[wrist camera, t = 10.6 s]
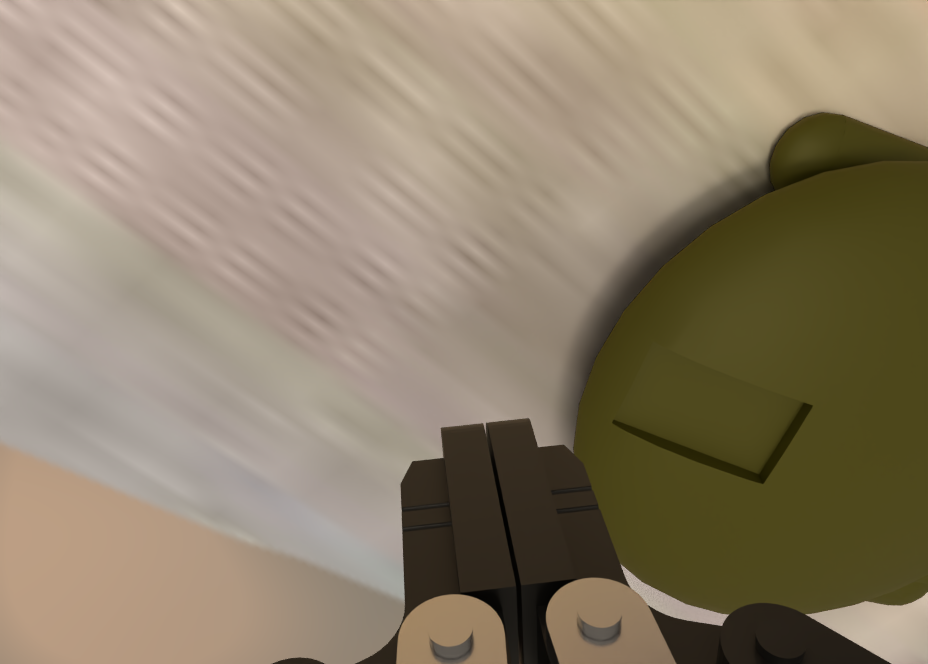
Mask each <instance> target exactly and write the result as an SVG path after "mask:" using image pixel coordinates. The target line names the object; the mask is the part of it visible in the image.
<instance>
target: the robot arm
mask: <svg viewBox="0 0 928 664" xmlns="http://www.w3.org/2000/svg"><path fill="white" fill-rule="evenodd" d="M441 437H442V448H443V458H440V459H431V460H422V461H413V462H412V463H411V465H410V467H409V469H408V471H407V473H406V475H405V477H404V478H403V480H402V482H401V506H402V529H403V532H402V534H403V561H404V589H405V613H404V617H403V621H402V623H401V625H400V627H399V629H398V631H397V632H396V634H395V636H394V637H393V638H392V639H391V640H390V641H389V643H388V644H387V645H386V646H384V647H383V648H382V649H381V650H380V651H378V652H377V653H375V654H374V655H373V656H370V657H368V658H367V659H365V660H363V661H360V662H358V663H356V664H891V663H889V662H887V661H886V660H884V659H882V658H880V657H879V656H877V655H875V654H873V653H872V652H870V651H868V650H866V649H865V648H863V647H861V646H859V645H858V644H856V643H854V642H852V641H851V640H849V639H847V638H845V637H844V636H842V635H840V634H838V633H837V632H835V631H833V630H831V629H830V628H828V627H826V626H824V625H823V624H821V623H819V622H817V621H816V620H814V619H812V618H810V617H809V616H807V615H805V614H803V613H801V612H799V611H797V610H795V609H792V608H789V607H786V606H783V605H778V604H772V603H754V604H748V605H745V606H743V607H740V608H738V609H736V610H735V611H733V612H732V613H731V614H730V615H729V616H728V617H727V618H726V620H725V621H724V623H723V625H722V626H718V625H712V624H705V623H699V622H693V621H686V620H682V619H677V618H674V617H671V616H668V615H665V614H663V613H661V612H659V611H656V610H655V609H653V608H651V607H650V606H648V605H647V603H646V602H645V601H644V600H643V598H642V597H641V596H640V595H639V594H638V593H636V592H635V591H634V590H633V589H631V588H630V586H629V585H628V583H627V580H626V578H625V576H624V573H623V570H622V568H621V565H620V562H619V559H618V557H617V554H616V551H615V548H614V546H613V543H612V540H611V538H610V535H609V532H608V529H607V527H606V524H605V521H604V518H603V516H602V513H601V510H600V509H599V507H598V502H597V499H596V497H595V494H594V491H593V490H592V486H591V483H590V480H589V478H588V475H587V472H586V469H585V467H584V464H583V462H581V461H580V460H579V459H578V458H577V457H576V456H575V455H574V454H573V453H572V452H571V451H570V450H569V449H568V448H567V447H566V446H564V445H557V446H548V447H538V446H537V442H536V439H535V435H534V432H533V429H532V425H531V422H530V420H529V418H526V419H517V420H508V421H498V422H489V423H486V434H485V429H484V425H483V423H481V424H472V425H463V426H454V427H444V428H441ZM273 664H324V663H322V662H320V661H317V660H313V659H309V658H290V659H285V660H281V661H278V662H275V663H273Z"/></svg>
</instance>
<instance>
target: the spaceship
mask: <svg viewBox="0 0 928 664" xmlns="http://www.w3.org/2000/svg"><path fill="white" fill-rule="evenodd" d="M770 181H771V183H772V185H773V187H774V188H775V190H776V191H773V192H771V193H768V194H765V195H764V196H762V197H760V198H759V199H757V200H755V201H753V202H752V203H750V204H748V205H747V206H745V207H743V208H741V209H740V210H738V211H736V212H735V213H733V214H731V215H730V216H728V217H726V218H724V219H723V220H721V221H719V222H718V223H716V224H714V225H712V226H711V227H710V228H708V229H707V230H706V231H705V232H703V233H702V234H701V235H700V236H699V237H697V238H696V239H695V240H694V241H693V242H691V243H690V244H689V245H688V246H687V247H685V248H684V249H683V250H682V251H680V252H679V253H678V254H677V255H676V256H674V257H673V258H672V259H671V260H670V261H668V262H667V263H666V264H665V265H664V266H662V268H661V269H660V270H659V271H658V272H657V273H656V275H655V276H654V277H653V278H652V279H651V280H650V281H649V283H648V284H647V285H646V286H645V287H644V288H643V290H642V291H641V292H640V293H639V294H638V295H637V296H636V298H635V299H634V300H633V301H632V302H631V303H630V304H629V306H628V307H627V308H626V309H625V310H624V312H623V313H622V315H621V317H620V318H619V320H618V322H617V323H616V325H615V327H614V328H613V330H612V332H611V333H610V335H609V337H608V338H607V340H606V342H605V343H604V345H603V347H602V348H601V350H600V352H599V353H598V355H597V357H596V359H595V362H594V365H593V367H592V370H591V373H590V376H589V378H588V381H587V384H586V387H585V389H584V392H583V395H582V398H581V401H580V403H579V410H578V417H577V425H576V432H575V439H574V447H573V450H574V455H575V456H576V457H577V458H578V459H579V460H580V461H581V462H583V464H584V467H585V469H586V472H587V475H588V478H589V480H590V483H591V486H592V490H593V491H594V494H595V497H596V499H597V502H598V507H599V509H600V510H601V513H602V516H603V518H604V521H605V524H606V527H607V529H608V532H609V535H610V538H611V540H612V543H613V546H614V548H615V551H616V554H617V557H618V559H619V562H620V564H621V565H623V566H624V567H625V568H626V569H627V570H629V571H630V572H631V573H632V574H633V575H635V576H636V577H637V578H638V579H639V580H641V581H642V582H644V583H645V584H647V585H649V586H651V587H653V588H655V589H657V590H659V591H661V592H663V593H665V594H667V595H669V596H671V597H673V598H675V599H677V600H679V601H681V602H683V603H685V604H688V605H691V606H695V607H699V608H703V609H706V610H710V611H714V612H718V613H721V614H731V613H732V612H733V611H735V610H736V609H738V608H740V607H743V606H745V605H748V604H754V603H772V604H778V605H783V606H786V607H789V608H792V609H795V610H797V611H799V612H801V613H803V614H812V613H818V612H823V611H827V610H832V609H837V608H842V607H847V606H852V605H855V604H858V603H861V602H864V601H868V602H874V603H879V604H884V605H905V604H908V603H912V602H914V601H916V600H917V599H919V598H921V597H923V596H924V595H925V594H926V593H927V592H928V147H925V146H922V145H920V144H917V143H915V142H912V141H909V140H907V139H904V138H902V137H899V136H896V135H894V134H891V133H889V132H886V131H883V130H881V129H878V128H876V127H873V126H870V125H868V124H865V123H863V122H860V121H857V120H855V119H852V118H850V117H847V116H844V115H838V114H830V113H819V114H816V115H812V116H809V117H805V118H803V119H802V120H800V121H799V122H798V123H796V124H795V125H793V126H792V127H791V128H789V129H788V130H787V131H786V132H785V134H784V135H783V137H782V138H781V139H780V141H779V142H778V143H777V145H776V146H775V149H774V152H773V155H772V158H771V161H770Z"/></svg>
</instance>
